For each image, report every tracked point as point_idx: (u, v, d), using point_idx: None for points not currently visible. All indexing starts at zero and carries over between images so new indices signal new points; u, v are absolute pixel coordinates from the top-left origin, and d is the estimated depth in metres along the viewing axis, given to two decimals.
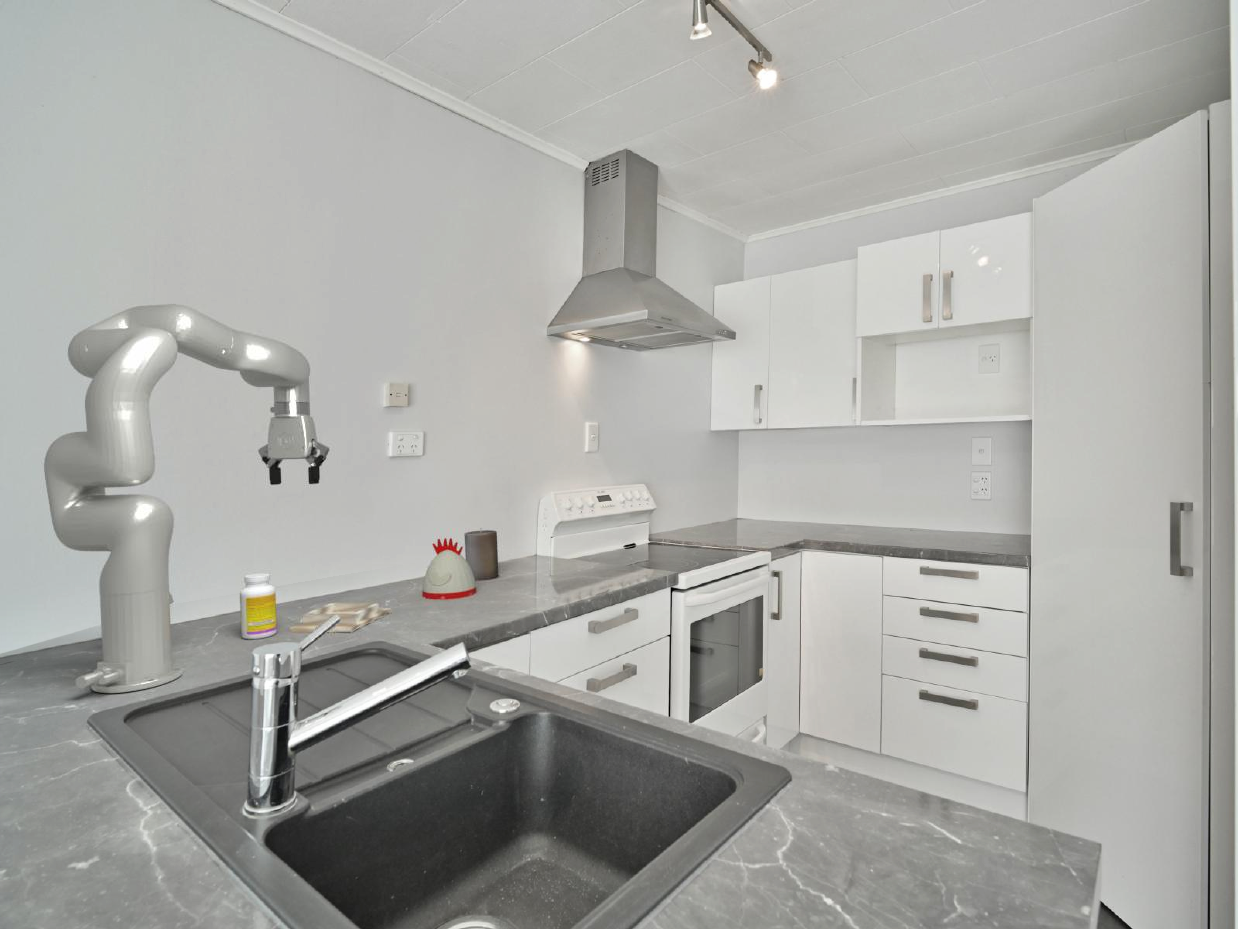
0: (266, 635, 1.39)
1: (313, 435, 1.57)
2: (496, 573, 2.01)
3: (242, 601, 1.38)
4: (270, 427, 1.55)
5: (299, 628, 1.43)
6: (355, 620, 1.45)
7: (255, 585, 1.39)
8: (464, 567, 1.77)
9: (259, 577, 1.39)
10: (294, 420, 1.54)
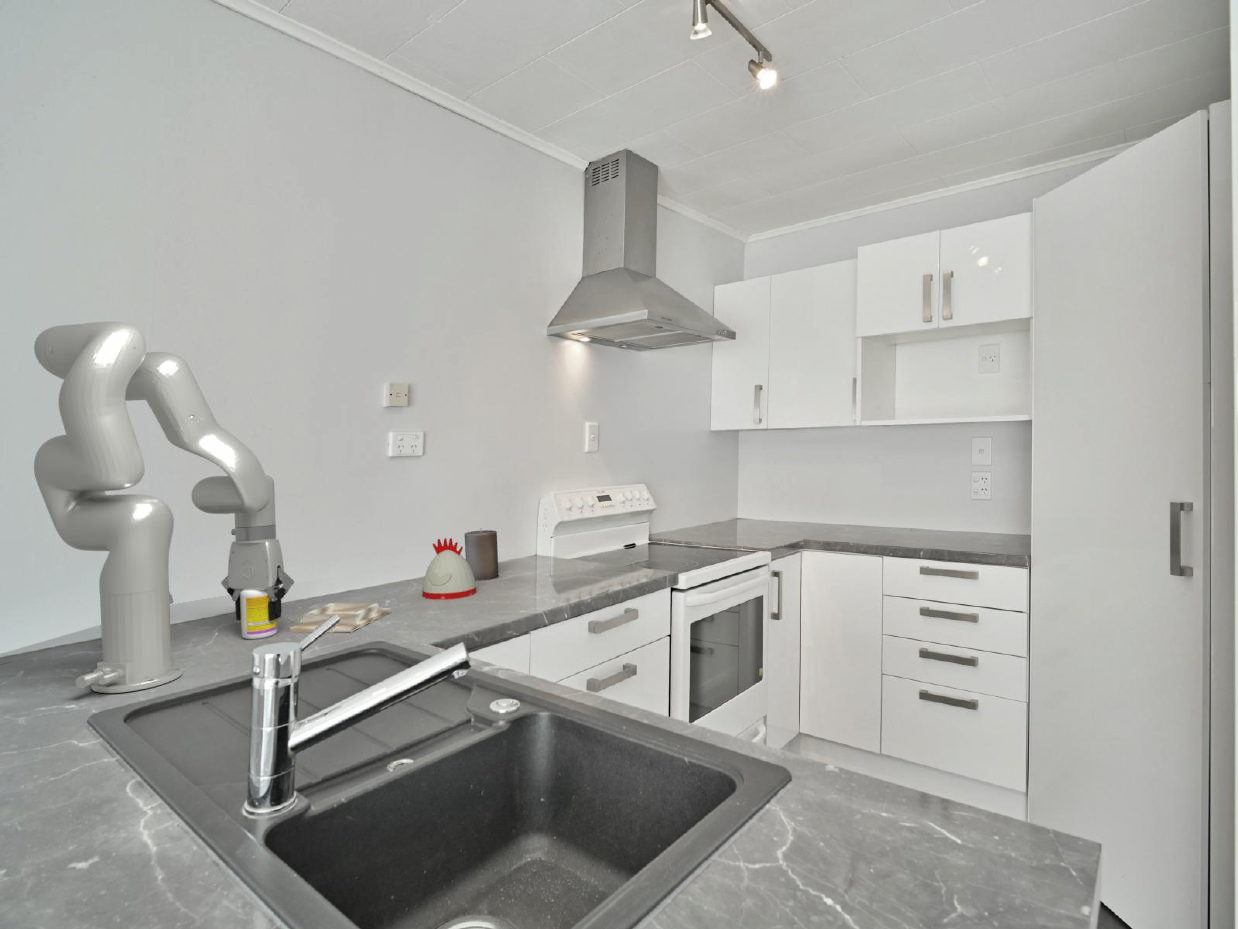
0: (266, 635, 1.39)
1: (278, 561, 1.40)
2: (496, 573, 2.01)
3: (242, 601, 1.38)
4: (230, 554, 1.39)
5: (299, 628, 1.43)
6: (355, 620, 1.45)
7: None
8: (464, 567, 1.77)
9: None
10: (257, 547, 1.38)
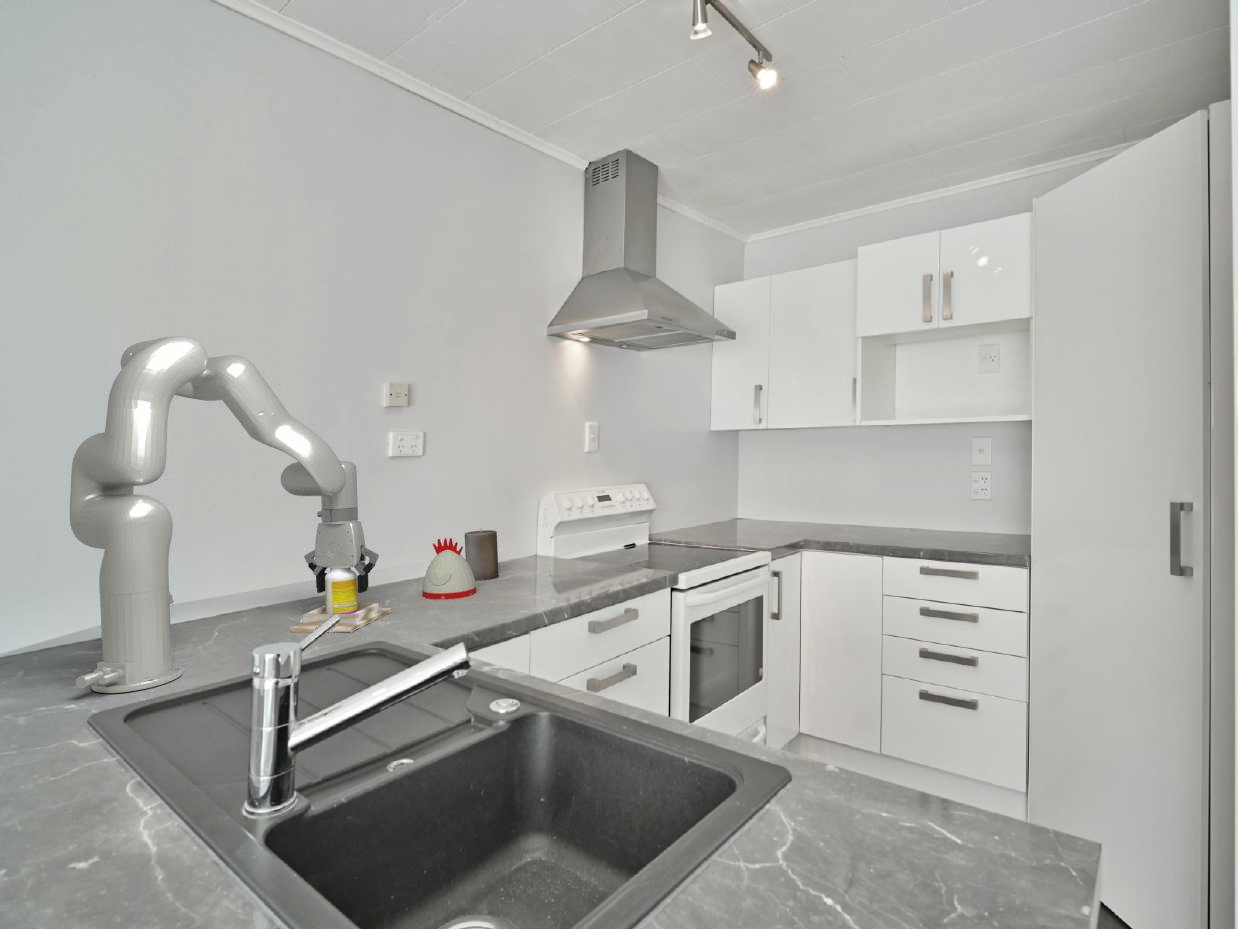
0: None
1: (361, 541, 1.51)
2: (496, 573, 2.01)
3: (328, 585, 1.48)
4: (317, 534, 1.49)
5: (299, 628, 1.43)
6: (355, 620, 1.45)
7: (339, 569, 1.49)
8: (464, 567, 1.77)
9: None
10: (343, 527, 1.48)
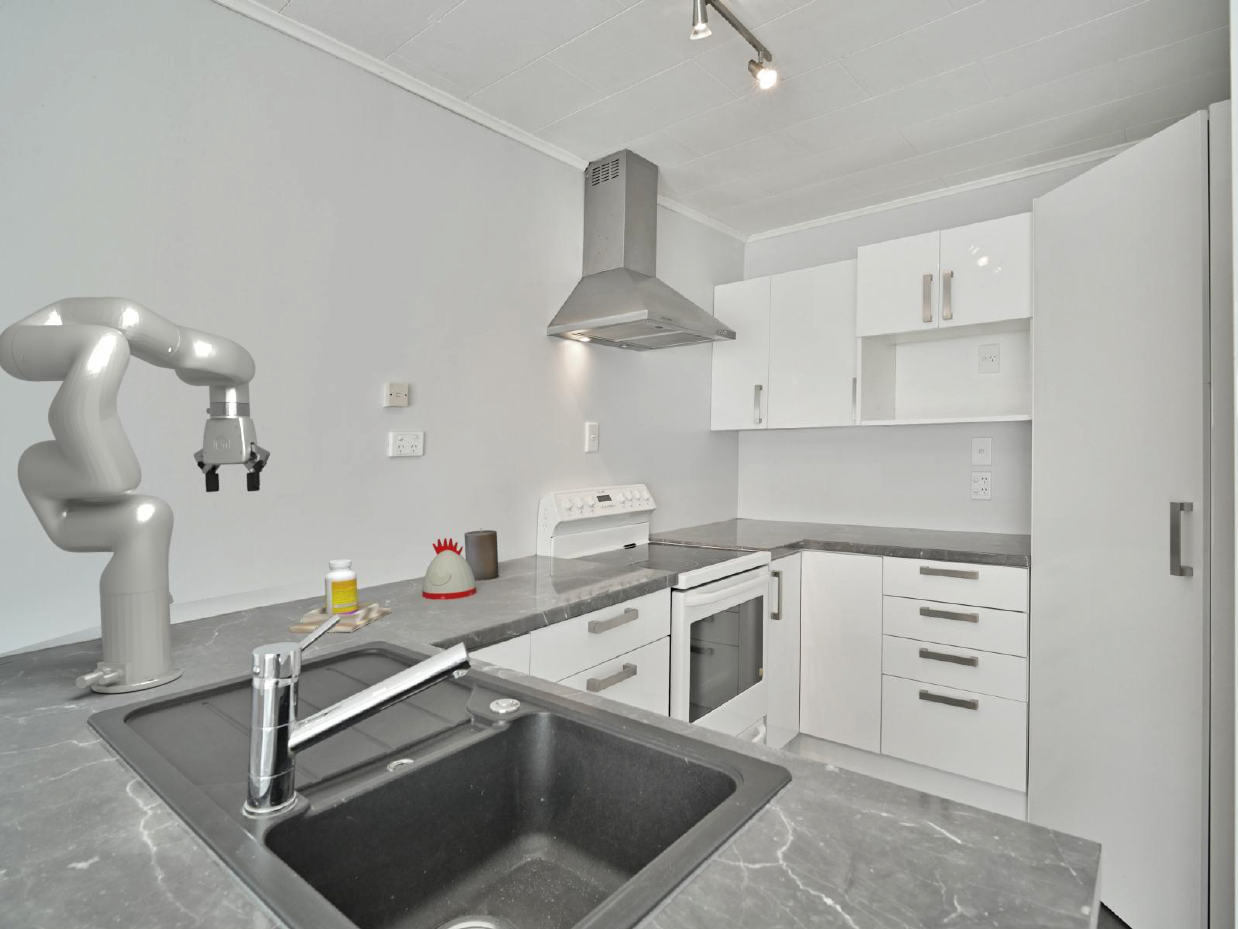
0: None
1: (252, 438, 1.45)
2: (496, 573, 2.01)
3: (328, 585, 1.48)
4: (205, 430, 1.44)
5: (299, 628, 1.43)
6: (355, 620, 1.45)
7: (339, 570, 1.49)
8: (464, 567, 1.77)
9: (343, 562, 1.49)
10: (231, 422, 1.42)
